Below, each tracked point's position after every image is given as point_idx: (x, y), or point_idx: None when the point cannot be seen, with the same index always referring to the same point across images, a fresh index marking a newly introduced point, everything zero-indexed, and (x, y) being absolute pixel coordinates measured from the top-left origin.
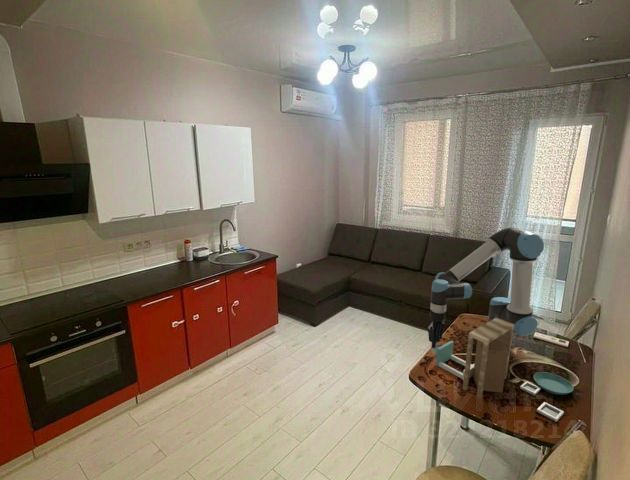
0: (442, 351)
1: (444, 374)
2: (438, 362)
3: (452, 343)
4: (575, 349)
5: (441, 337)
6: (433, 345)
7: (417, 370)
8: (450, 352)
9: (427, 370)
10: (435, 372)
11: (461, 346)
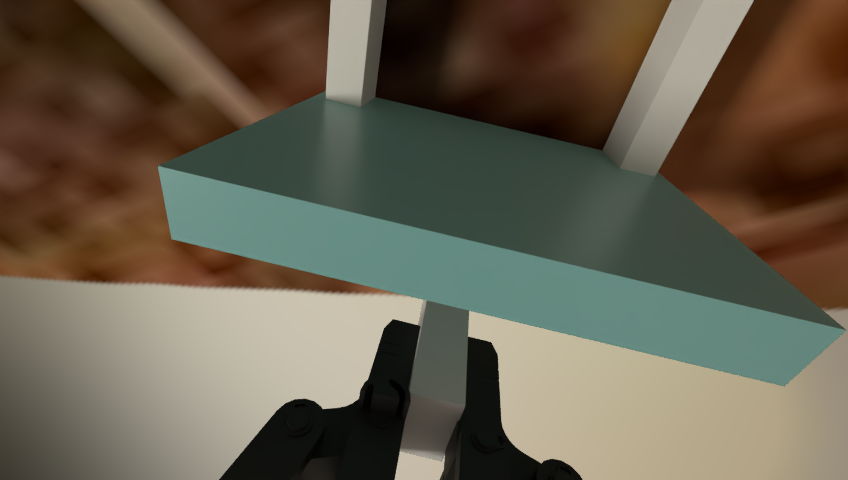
0: (645, 236)
1: (816, 10)
2: (664, 178)
3: (232, 168)
4: None
5: (282, 429)
6: (496, 391)
7: (826, 301)
8: (356, 122)
9: (785, 225)
10: (801, 135)
11: (17, 92)
